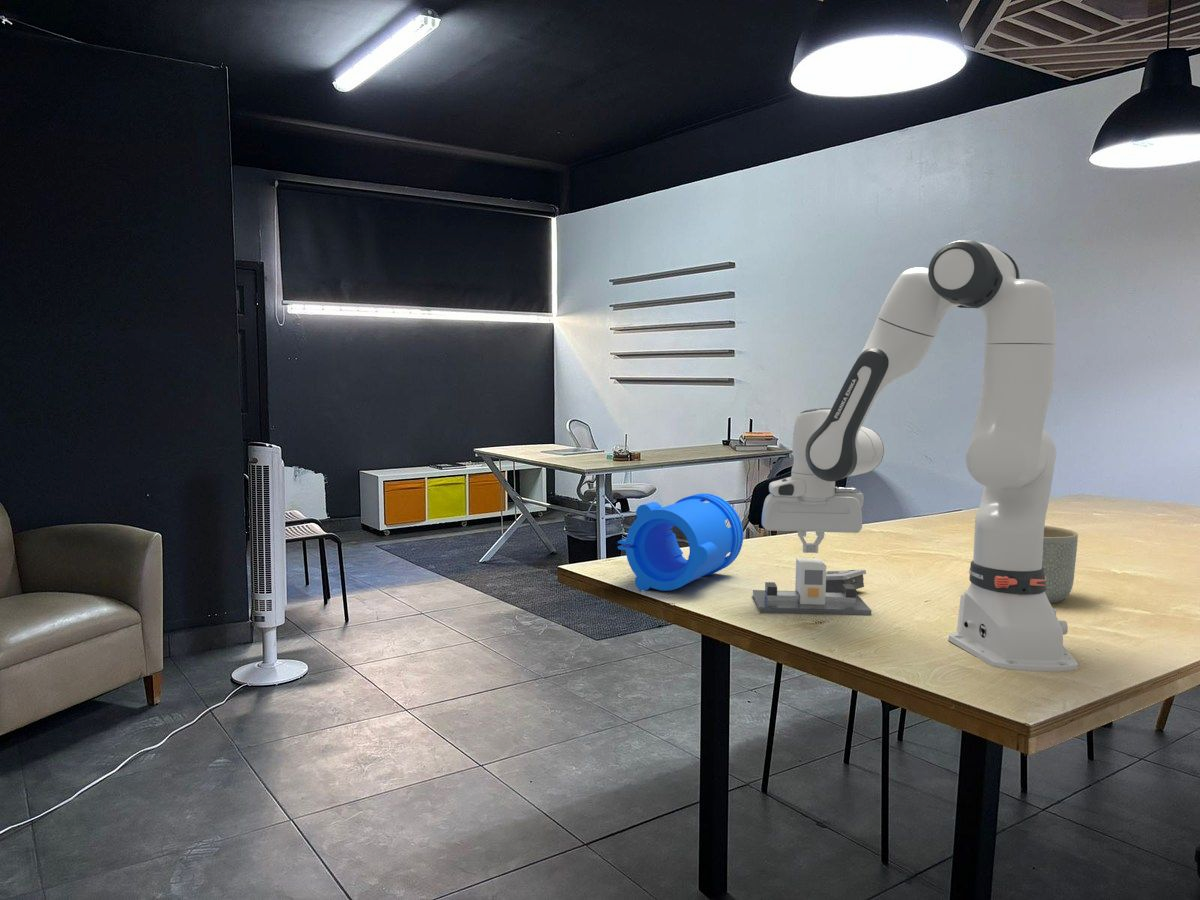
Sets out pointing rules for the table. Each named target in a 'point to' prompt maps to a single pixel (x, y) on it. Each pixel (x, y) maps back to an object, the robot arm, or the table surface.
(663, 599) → the table surface
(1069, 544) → the planter
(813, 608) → the din board
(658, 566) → the tube
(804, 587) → the din module
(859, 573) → the electrical switch
